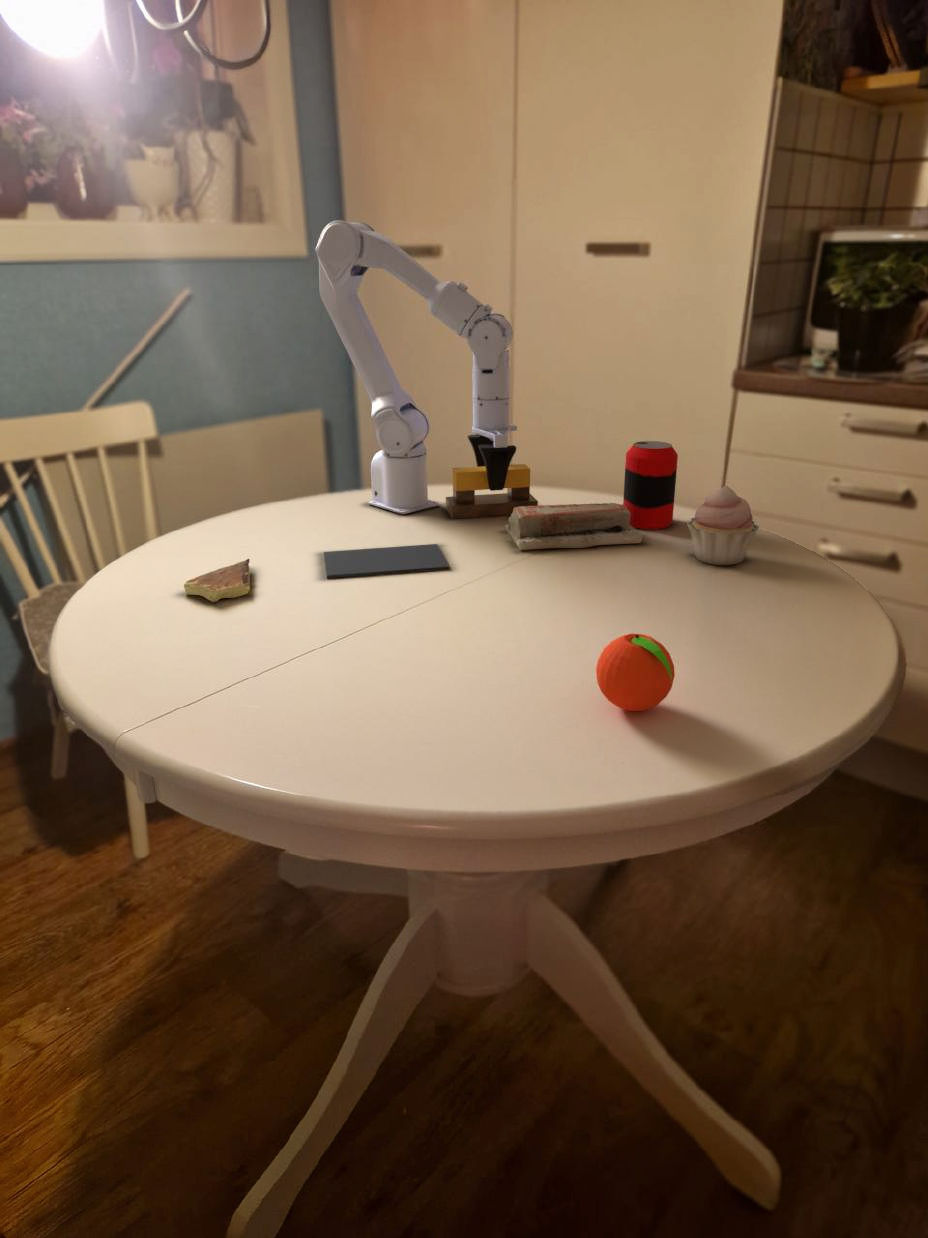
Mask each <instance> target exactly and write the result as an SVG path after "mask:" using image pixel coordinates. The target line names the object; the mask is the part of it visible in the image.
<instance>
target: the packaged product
mask: <svg viewBox="0 0 928 1238" xmlns="http://www.w3.org/2000/svg"><path fill="white" fill-rule="evenodd" d="M629 523H630V512H629V511H628V510H627V508H626V506H625V505H623V503H622V504H620V503H616V502H609V503H606V502H602V503H597V502H596V503H579V504H578V503H573V504H571V503H570V504H546V505H545V504H544V505H538V506H520V507H515V508H514V509H513V513H512V514H511V515H510V516H509V518H508V523H506V524H505V529H506V531H507V533H508V534H509V536H510V537H511V539H512V540H513V542H514V544H515V545H516V546H517V548H518V549H519V551H527V550H528V551H529V550H543V549H582V548H583V549H584V548H589V547H594V546H605V545H628V544H641V542H642V538H643V533H642V532H641V531H640V530H639V529H638V528H634V527H632V526H631V525H629Z"/></svg>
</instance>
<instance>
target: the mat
mask: <svg viewBox="0 0 928 1238" xmlns="http://www.w3.org/2000/svg"><path fill="white" fill-rule="evenodd" d="M323 558H324V566H325V574H326V575H325V576H326V579H335V578H348V577H349V578H350V577H363V576H365V577H366V576H375V575H376V576H377V575H389V574H390V575H391V574H403V573H404V574H405V573H416V572H417V573H418V572H429V571H430V572H431V571H441V570H442V571H443V570H450V567H449V565H448V562H447V560H446V559H445V556H444V555H443V553H442V550H441V549H440V547H439V545H438V544H437V543H430V544H418V545H417V544H416V545H403V546H390V547H389V546H388V547H374V548H373V547H372V548H361V549H359V548H358V549H346V550H333V551H331V550H330V551H323Z"/></svg>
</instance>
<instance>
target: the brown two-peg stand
mask: <svg viewBox="0 0 928 1238" xmlns="http://www.w3.org/2000/svg"><path fill="white" fill-rule="evenodd" d="M530 489H531V486H530V487H520V488H506V491H507V492H506V493H505V492H504V493H488V494H475V493H476V492H475V491H476V490H470V491H456V490H455V488H454V487H453V486H452V496H445V510H446V511H447V513H448V514H449V516H450V518H451V519H463V518H464V519H465V518H466V519H467V518H480V517H481V518H482V517H495V516H496V517H497V516H509V515H510V516H511V514H512V513H513V509H514V508H515V507H520V506H539V501H538V499H536V498H535V496H534V495H533V494H531V492H530V491H531V490H530Z"/></svg>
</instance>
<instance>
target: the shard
mask: <svg viewBox="0 0 928 1238" xmlns="http://www.w3.org/2000/svg"><path fill="white" fill-rule="evenodd" d="M250 561H251V560H250V558H247V559H245V560H243V561H242V560H241V561H238V562H237V563H234V564H231V565H227V566H225V567H221V568H218V569H216V570H213V571H209V572H207V573H204V574H201V575H199V576H196V577H194V578H191V579H189V580H187V581H186V582H185V583H184V584H183V588H184V592H185V594H186V595H189V596H200V597H203V598H205V599H206V600H208V601H210V602H212V603H215V602H218V601H220V599H225V598H226V599H230V598H233V599H234V598H238V597H241V596H245V595H248V594H249V592H250V589H251V585H250V582H251V579H250V578H251V577H250V576H251V568H250Z"/></svg>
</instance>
